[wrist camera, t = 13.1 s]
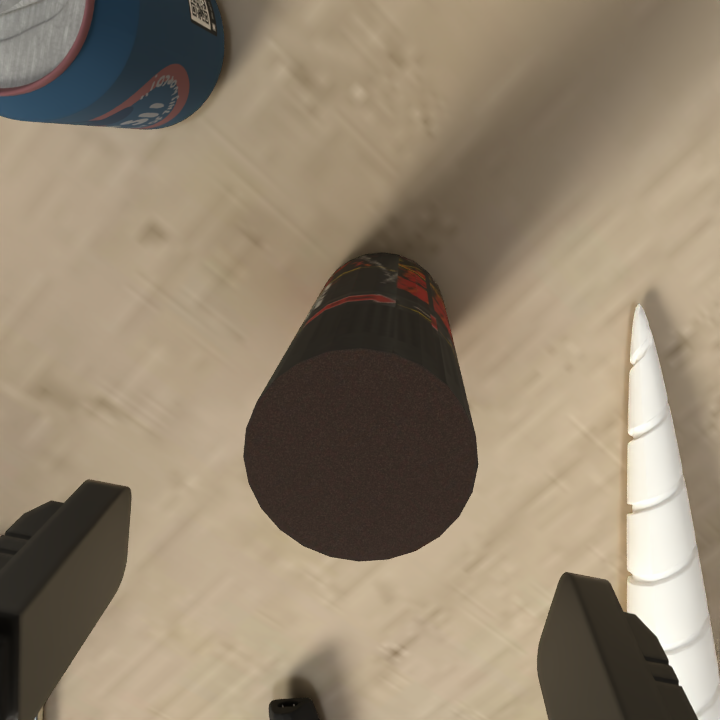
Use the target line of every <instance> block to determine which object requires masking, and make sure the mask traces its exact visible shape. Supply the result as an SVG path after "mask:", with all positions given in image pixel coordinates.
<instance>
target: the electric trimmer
mask: <svg viewBox="0 0 720 720" xmlns="http://www.w3.org/2000/svg"><path fill="white" fill-rule="evenodd" d="M269 717H270V720H320V719H319V717H318V714H317V712H316V709H315V707H314V704H313V702H312V700H311V699H310V698H293V699H279V700H273V701H271V702H270V704H269Z"/></svg>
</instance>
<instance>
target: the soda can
mask: <svg viewBox="0 0 720 720" xmlns="http://www.w3.org/2000/svg"><path fill="white" fill-rule="evenodd" d="M223 57H224V30H223V24H222V19H221V15H220V11H219V8H218V5H217V3H216V1H215V0H0V116H3V117H6V118H10V119H14V120H20V121H30V122H44V123H58V124H73V125H87V126H102V127H116V128H131V129H159V128H164V127H168V126H171V125H174V124H176V123H178V122H181V121H182V120H184V119H186V118H187V117H189V116H190V115H192V114H193V113H194V112H195V111H197V110H198V109H199V108H200V107H201V106H202V104H203V103H204V102H205V101H206V100H207V98H208V97H209V95H210V94H211V92H212V91H213V89H214V87H215V85H216V82H217V80H218V78H219V75H220V72H221V68H222V63H223Z"/></svg>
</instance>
